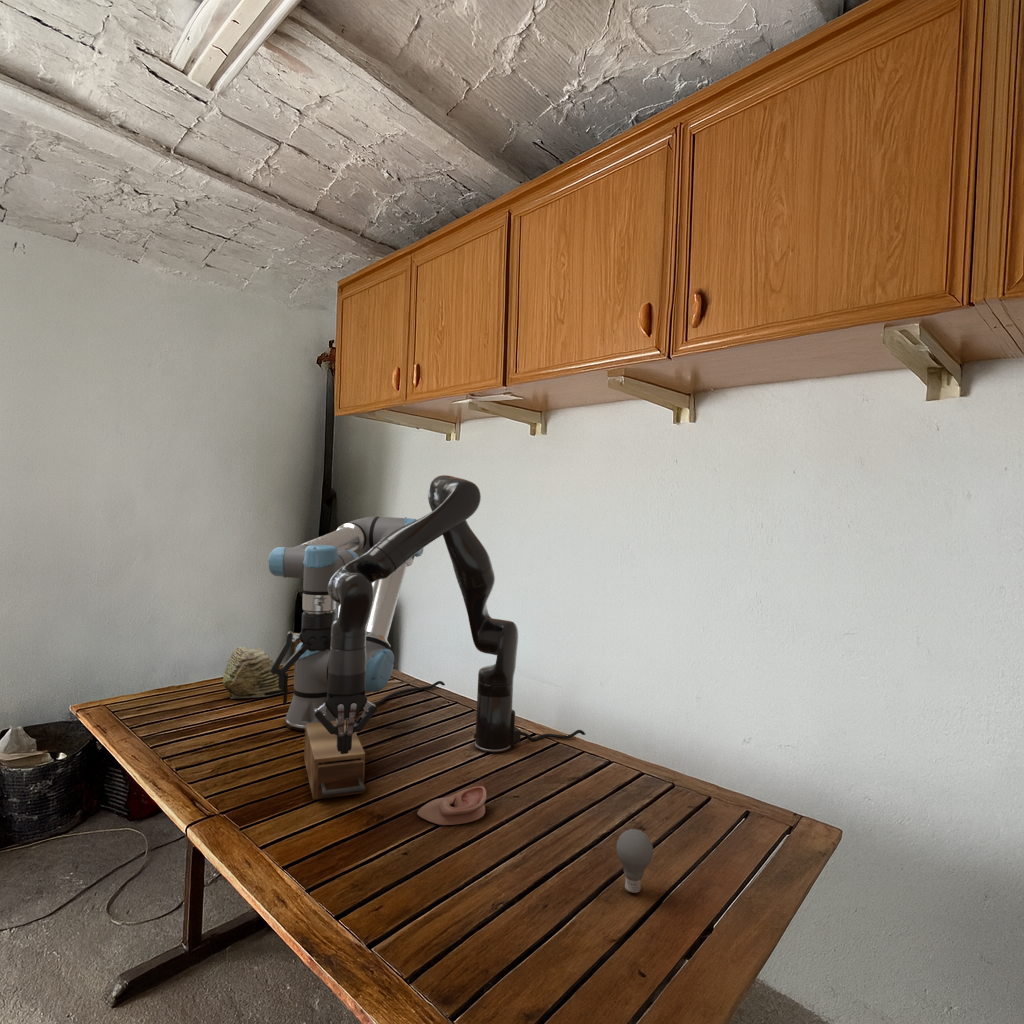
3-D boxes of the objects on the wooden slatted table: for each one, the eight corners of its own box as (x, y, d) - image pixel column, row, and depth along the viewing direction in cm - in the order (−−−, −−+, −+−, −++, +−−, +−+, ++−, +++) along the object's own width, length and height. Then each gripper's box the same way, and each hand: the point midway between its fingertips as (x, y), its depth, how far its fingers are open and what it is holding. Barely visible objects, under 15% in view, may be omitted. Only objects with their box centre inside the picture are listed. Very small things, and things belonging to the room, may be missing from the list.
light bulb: (610, 879, 108) (613, 822, 108) (644, 879, 109) (647, 822, 109) (619, 902, 102) (622, 840, 102) (655, 901, 103) (658, 840, 103)
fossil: (218, 695, 195) (220, 647, 195) (278, 685, 208) (279, 640, 207) (228, 703, 189) (230, 653, 188) (289, 692, 201) (290, 645, 201)
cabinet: (363, 792, 136) (365, 753, 136) (312, 799, 132) (314, 759, 132) (348, 753, 156) (349, 719, 156) (304, 758, 152) (305, 723, 152)
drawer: (366, 804, 130) (368, 771, 129) (319, 810, 126) (321, 777, 126) (347, 755, 153) (349, 727, 153) (307, 759, 150) (309, 731, 150)
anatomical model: (412, 801, 125) (431, 776, 136) (411, 820, 125) (430, 795, 136) (477, 810, 122) (491, 784, 134) (476, 830, 122) (490, 803, 134)
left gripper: (260, 614, 141) (257, 709, 142) (374, 613, 149) (371, 702, 149) (263, 608, 148) (260, 698, 149) (371, 607, 156) (368, 693, 157)
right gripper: (315, 675, 123) (312, 763, 124) (383, 671, 129) (379, 755, 129) (311, 665, 130) (308, 749, 131) (376, 661, 136) (372, 742, 136)
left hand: (315, 701), depth 149 cm, fingers open, 13 cm apart
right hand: (343, 752), depth 130 cm, fingers closed
